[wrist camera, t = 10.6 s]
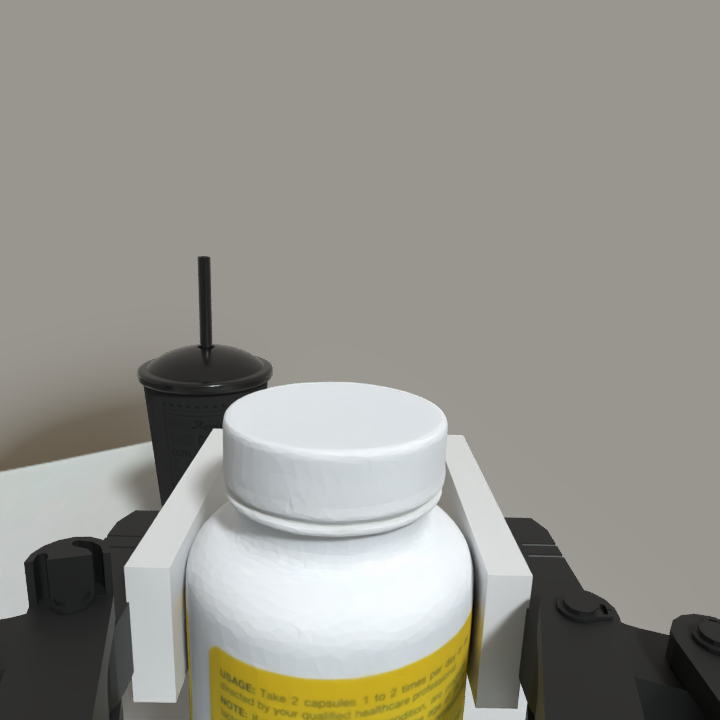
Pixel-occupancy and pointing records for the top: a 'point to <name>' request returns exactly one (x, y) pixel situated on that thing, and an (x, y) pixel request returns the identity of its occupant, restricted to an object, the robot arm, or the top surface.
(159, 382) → the drinking cup
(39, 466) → the top surface
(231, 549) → the supplement bottle
